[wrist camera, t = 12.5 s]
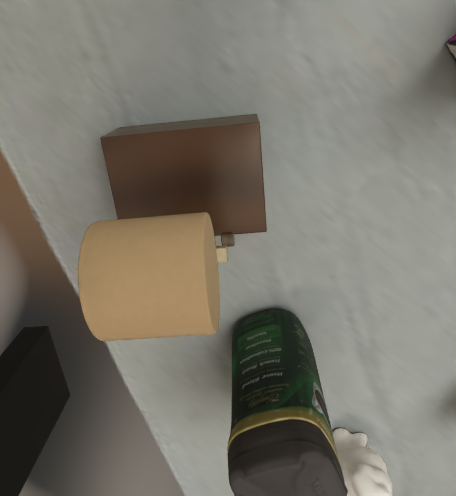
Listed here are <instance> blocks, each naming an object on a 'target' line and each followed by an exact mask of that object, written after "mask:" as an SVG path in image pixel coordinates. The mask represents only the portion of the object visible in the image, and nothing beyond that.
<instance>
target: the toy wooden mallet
mask: <svg viewBox="0 0 456 496" xmlns="http://www.w3.org/2000/svg"><path fill="white" fill-rule="evenodd" d="M227 261H228V248H227V246H216V241H215V237H214V231H213V226H212V222H211V218H210V216H209V214H208V213H207V212H202V213H190V214H178V215H166V216H155V217H143V218H131V219H119V220H107V221H97V222H94V223H93V224H91V225H90V226H89V227H88V229H87V231H86V233H85V235H84V237H83V240H82V244H81V248H80V254H79V264H78V285H79V294H80V301H81V306H82V310H83V314H84V317H85V320H86V323H87V325H88V327H89V329H90V330H91V332H92V334H93V335H94V336H95V337H96V338H97V339H99V340H102V341H114V340H130V339H145V338H161V337H176V336H192V335H207V334H216V333H217V331H218V326H219V314H220V295H219V275H218V263H222V262H227Z"/></svg>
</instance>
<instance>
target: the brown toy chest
mask: <svg viewBox="0 0 456 496" xmlns="http://www.w3.org/2000/svg"><path fill="white" fill-rule="evenodd" d="M101 143H102V148H103V152H104V157H105V162H106V166H107V171H108V176H109V180H110V185H111V189H112V194H113V199H114V203H115V208H116V213H117V217H118V220H119V219H131V218H143V217H155V216H166V215H178V214H190V213H202V212H207V213H208V214H209V216H210V218H211V222H212V226H213V231H214V236H219V235H221V241H222V246H227V247H230V246H234V245H235V241H234V234H244V233H256V232H266V231H267V228H266V213H265V198H264V183H263V168H262V153H261V137H260V123H259V119H258V116H257V114H251V115H241V116H231V117H220V118H210V119H200V120H190V121H180V122H170V123H160V124H150V125H140V126H130V127H120V128H118V129H116V130H114V131H112V132H110V133H108V134H107V135H105V136H103V137H101Z"/></svg>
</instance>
